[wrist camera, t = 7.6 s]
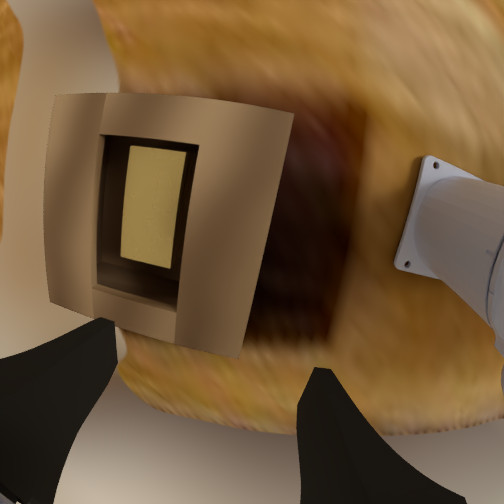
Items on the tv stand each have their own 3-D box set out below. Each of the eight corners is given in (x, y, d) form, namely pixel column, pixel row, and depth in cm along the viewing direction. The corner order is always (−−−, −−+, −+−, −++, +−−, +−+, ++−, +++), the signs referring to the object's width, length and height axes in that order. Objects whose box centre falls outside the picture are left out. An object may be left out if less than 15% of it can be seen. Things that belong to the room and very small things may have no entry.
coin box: (287, 127, 16) (294, 113, 11) (248, 304, 20) (238, 359, 15) (110, 105, 16) (55, 95, 11) (96, 266, 20) (50, 301, 15)
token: (205, 152, 17) (186, 152, 13) (190, 245, 19) (170, 268, 15) (159, 146, 17) (130, 145, 13) (148, 236, 19) (120, 256, 15)
